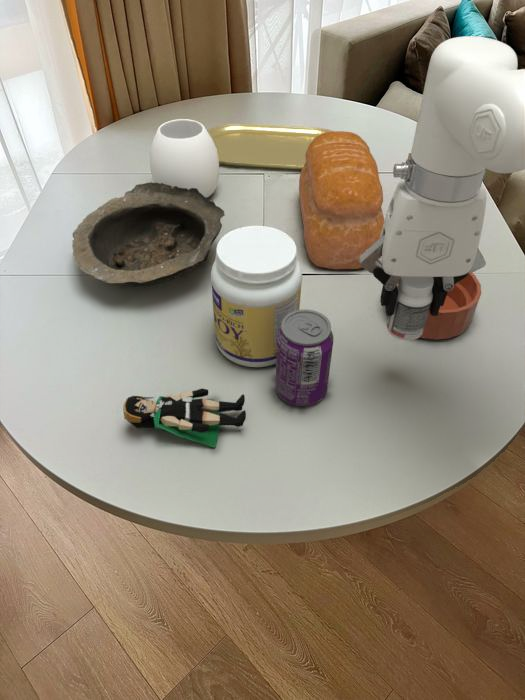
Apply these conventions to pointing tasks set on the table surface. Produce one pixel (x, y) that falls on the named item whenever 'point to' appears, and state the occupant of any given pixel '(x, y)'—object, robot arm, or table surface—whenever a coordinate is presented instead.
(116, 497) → the table surface
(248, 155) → the serving platter
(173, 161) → the white vase
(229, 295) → the supplement tub
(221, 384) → the table surface
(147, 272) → the stone bowl
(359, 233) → the bread
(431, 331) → the terracotta bowl
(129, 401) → the figurine
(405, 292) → the pill bottle
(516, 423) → the table surface
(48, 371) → the table surface
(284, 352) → the beverage can
